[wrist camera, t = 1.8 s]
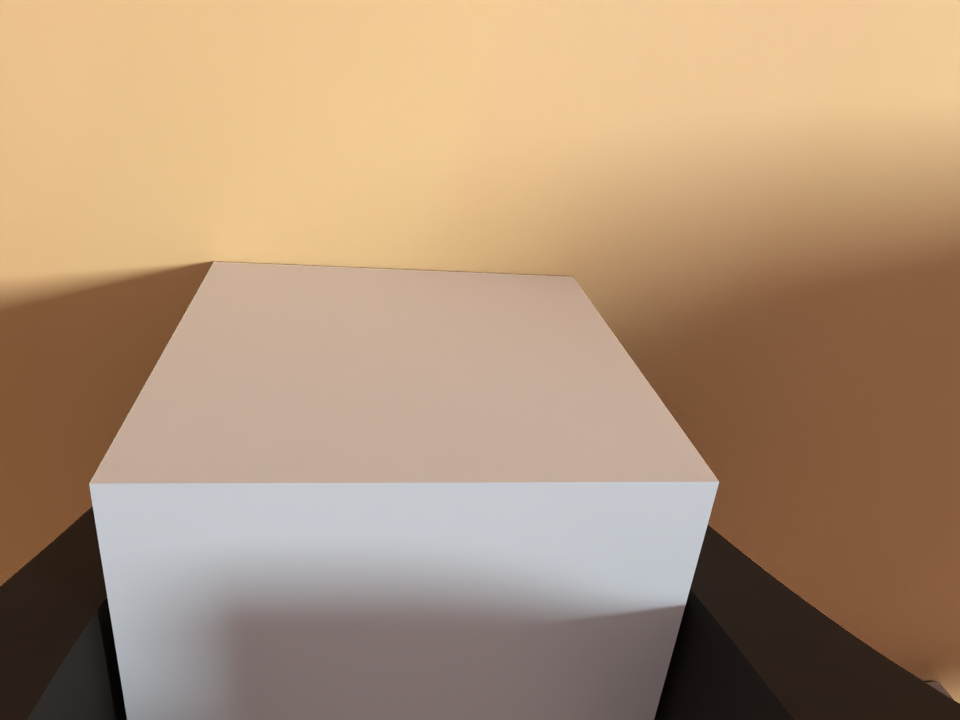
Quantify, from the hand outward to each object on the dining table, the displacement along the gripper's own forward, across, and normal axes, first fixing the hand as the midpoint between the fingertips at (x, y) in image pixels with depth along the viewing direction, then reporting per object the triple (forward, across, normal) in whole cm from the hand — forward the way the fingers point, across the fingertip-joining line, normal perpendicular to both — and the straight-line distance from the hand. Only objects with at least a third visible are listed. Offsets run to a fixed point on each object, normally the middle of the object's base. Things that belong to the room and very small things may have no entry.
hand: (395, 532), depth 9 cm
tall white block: (+2, 0, 0) cm, 2 cm away
